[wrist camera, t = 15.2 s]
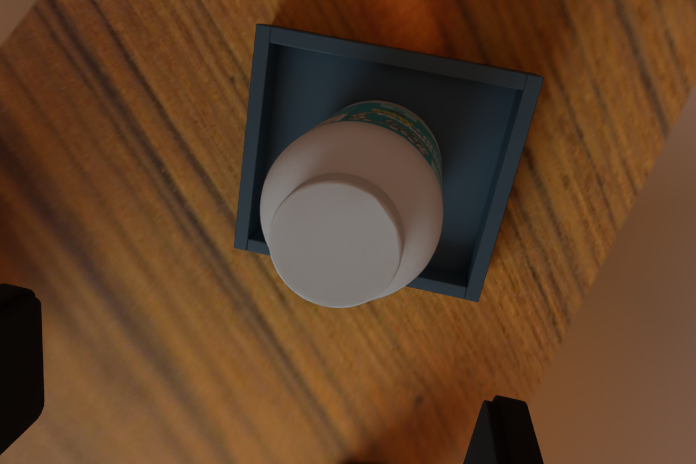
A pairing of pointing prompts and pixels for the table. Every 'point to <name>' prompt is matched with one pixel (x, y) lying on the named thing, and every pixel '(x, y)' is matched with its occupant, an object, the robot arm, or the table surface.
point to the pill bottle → (355, 205)
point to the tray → (417, 96)
